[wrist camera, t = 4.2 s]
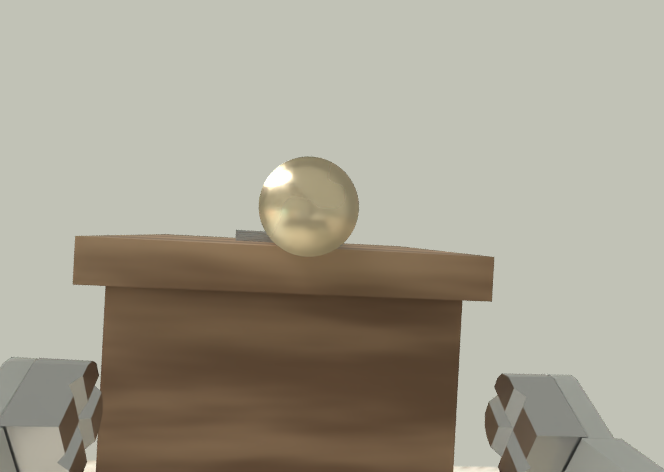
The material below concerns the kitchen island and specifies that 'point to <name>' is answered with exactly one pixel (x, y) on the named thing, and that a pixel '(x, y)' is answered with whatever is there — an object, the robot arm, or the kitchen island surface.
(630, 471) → the robot arm
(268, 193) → the brass handle with plate
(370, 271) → the lidded wooden box
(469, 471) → the kitchen island surface
